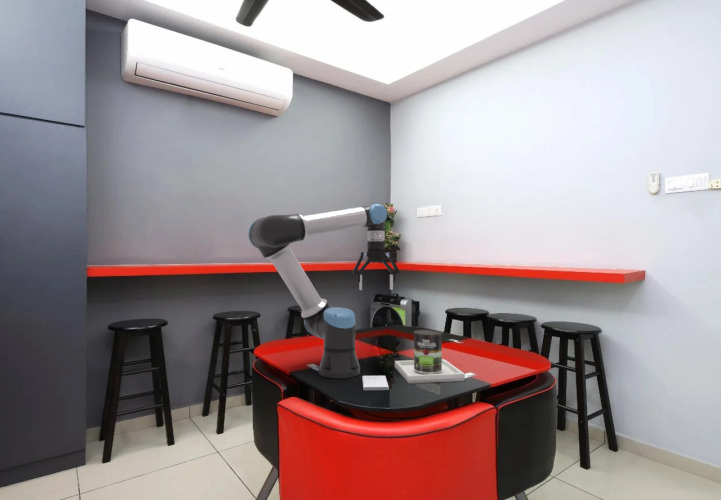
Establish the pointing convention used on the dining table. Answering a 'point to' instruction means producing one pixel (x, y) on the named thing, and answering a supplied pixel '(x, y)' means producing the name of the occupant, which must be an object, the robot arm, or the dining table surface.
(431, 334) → the coffee can
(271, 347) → the dining table surface
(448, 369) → the tray
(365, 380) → the external hard drive
